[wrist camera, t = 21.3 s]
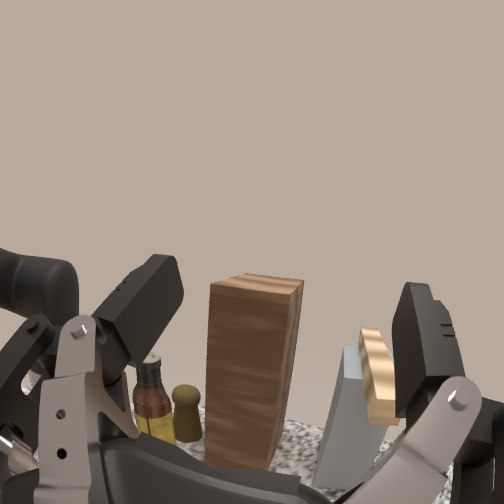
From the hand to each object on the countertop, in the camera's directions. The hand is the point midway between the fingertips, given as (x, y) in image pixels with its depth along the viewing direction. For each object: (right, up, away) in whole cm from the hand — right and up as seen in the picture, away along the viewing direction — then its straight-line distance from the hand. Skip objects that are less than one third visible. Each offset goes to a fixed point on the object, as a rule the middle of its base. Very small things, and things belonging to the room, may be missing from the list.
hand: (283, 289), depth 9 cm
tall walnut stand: (-2, -35, +33) cm, 48 cm away
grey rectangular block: (+14, -37, +28) cm, 48 cm away
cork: (-14, -34, +36) cm, 52 cm away
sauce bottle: (-17, -34, +29) cm, 48 cm away
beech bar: (+15, -15, +23) cm, 31 cm away
